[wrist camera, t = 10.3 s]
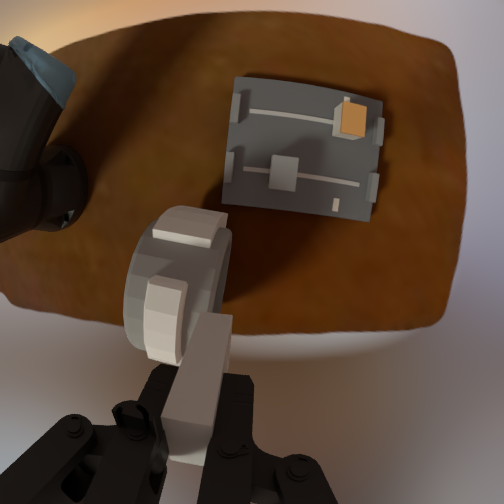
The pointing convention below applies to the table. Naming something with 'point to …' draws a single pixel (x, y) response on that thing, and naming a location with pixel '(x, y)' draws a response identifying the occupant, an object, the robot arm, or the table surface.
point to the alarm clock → (175, 280)
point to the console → (300, 149)
